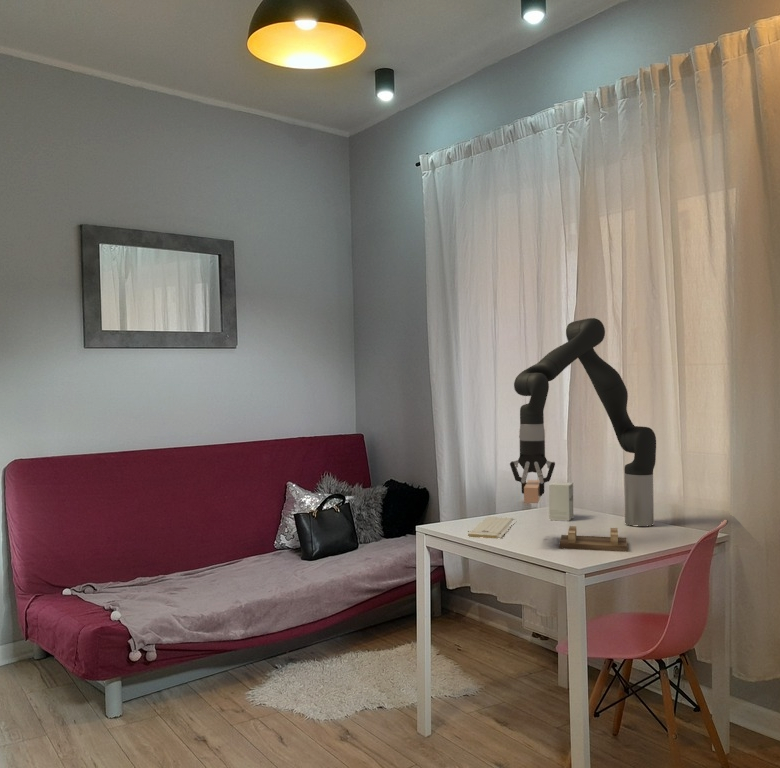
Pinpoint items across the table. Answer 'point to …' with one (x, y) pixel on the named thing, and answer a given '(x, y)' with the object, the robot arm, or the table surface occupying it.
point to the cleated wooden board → (593, 541)
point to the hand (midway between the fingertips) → (532, 495)
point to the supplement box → (560, 501)
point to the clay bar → (532, 491)
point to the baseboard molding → (491, 527)
